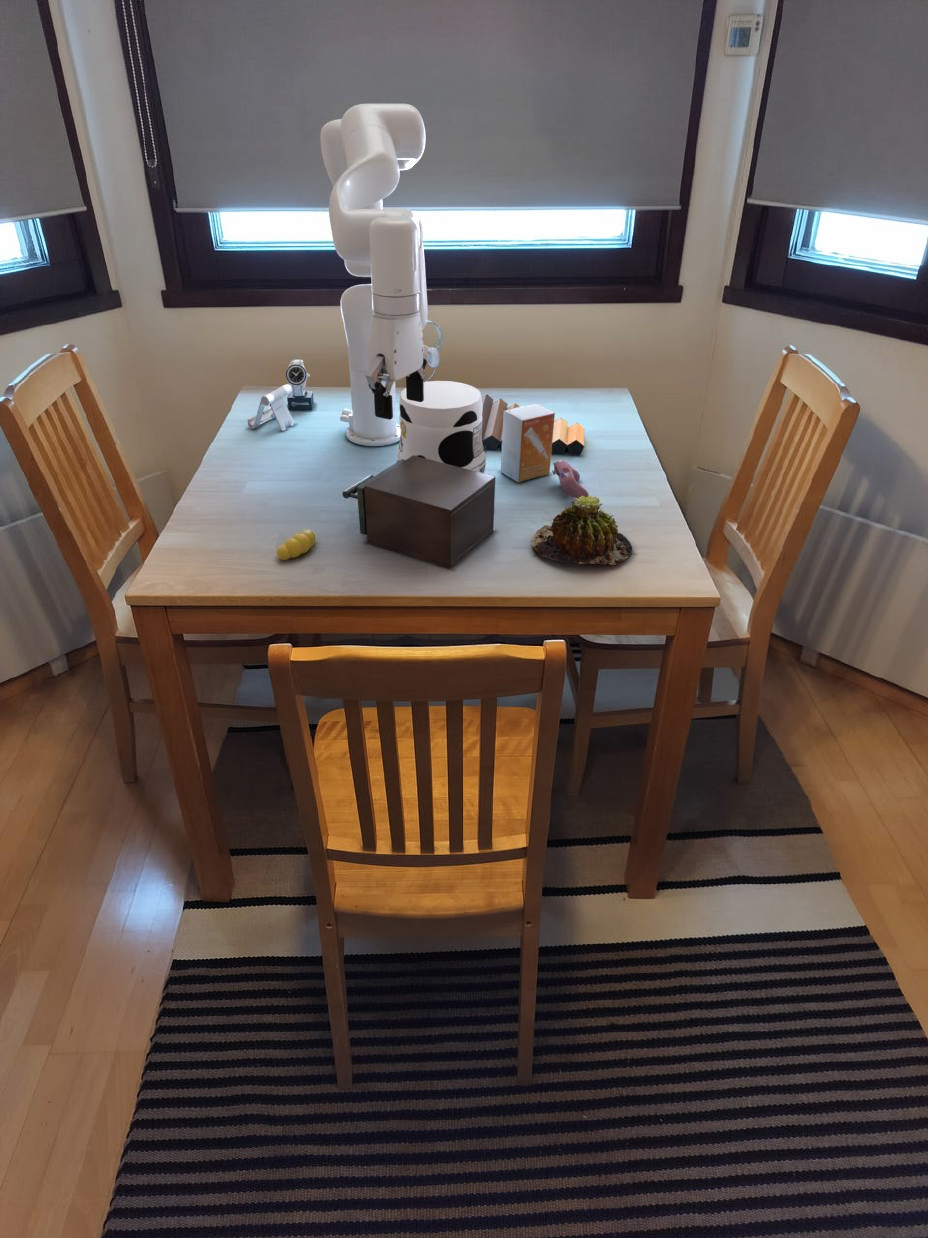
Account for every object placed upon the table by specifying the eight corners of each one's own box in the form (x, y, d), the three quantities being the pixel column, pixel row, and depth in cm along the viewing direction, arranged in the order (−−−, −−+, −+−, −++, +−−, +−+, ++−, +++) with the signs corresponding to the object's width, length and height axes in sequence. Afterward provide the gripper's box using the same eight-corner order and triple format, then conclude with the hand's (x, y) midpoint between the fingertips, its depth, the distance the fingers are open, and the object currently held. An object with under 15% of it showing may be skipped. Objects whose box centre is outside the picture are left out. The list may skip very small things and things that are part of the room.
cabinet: (367, 542, 144) (364, 485, 137) (414, 509, 154) (412, 455, 148) (450, 569, 137) (450, 510, 131) (493, 532, 147) (495, 476, 141)
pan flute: (478, 407, 198) (466, 448, 178) (478, 393, 196) (466, 433, 176) (583, 412, 196) (583, 455, 176) (584, 398, 194) (584, 440, 174)
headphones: (437, 401, 201) (437, 316, 190) (445, 406, 198) (445, 320, 187) (407, 407, 198) (404, 321, 186) (415, 412, 195) (413, 325, 183)
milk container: (386, 471, 168) (383, 383, 157) (467, 460, 173) (468, 374, 162) (411, 508, 154) (409, 415, 144) (498, 495, 159) (501, 404, 149)
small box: (518, 483, 164) (522, 420, 156) (499, 472, 168) (502, 409, 161) (550, 474, 168) (555, 412, 160) (531, 463, 172) (535, 402, 164)
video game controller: (559, 487, 166) (546, 458, 162) (580, 477, 165) (567, 448, 161) (569, 510, 158) (555, 480, 154) (591, 499, 157) (577, 469, 153)
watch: (287, 413, 193) (282, 366, 187) (291, 401, 200) (286, 355, 194) (311, 413, 194) (307, 366, 187) (314, 401, 200) (310, 355, 194)
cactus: (622, 525, 150) (629, 476, 144) (640, 571, 137) (648, 519, 131) (527, 525, 149) (531, 475, 144) (535, 571, 136) (539, 518, 131)
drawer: (334, 525, 147) (330, 479, 142) (379, 496, 156) (376, 452, 151) (435, 557, 138) (435, 509, 133) (476, 524, 148) (477, 478, 143)
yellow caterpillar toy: (292, 566, 137) (290, 548, 135) (274, 560, 138) (271, 542, 136) (325, 544, 143) (323, 526, 141) (307, 538, 145) (305, 521, 143)
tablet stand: (271, 415, 192) (266, 380, 187) (299, 421, 189) (295, 385, 185) (248, 428, 186) (243, 391, 181) (277, 434, 183) (273, 397, 178)
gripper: (405, 290, 139) (408, 390, 148) (344, 312, 126) (352, 420, 136) (444, 295, 136) (444, 397, 145) (386, 319, 123) (390, 429, 133)
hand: (400, 408), depth 141 cm, fingers open, 9 cm apart
